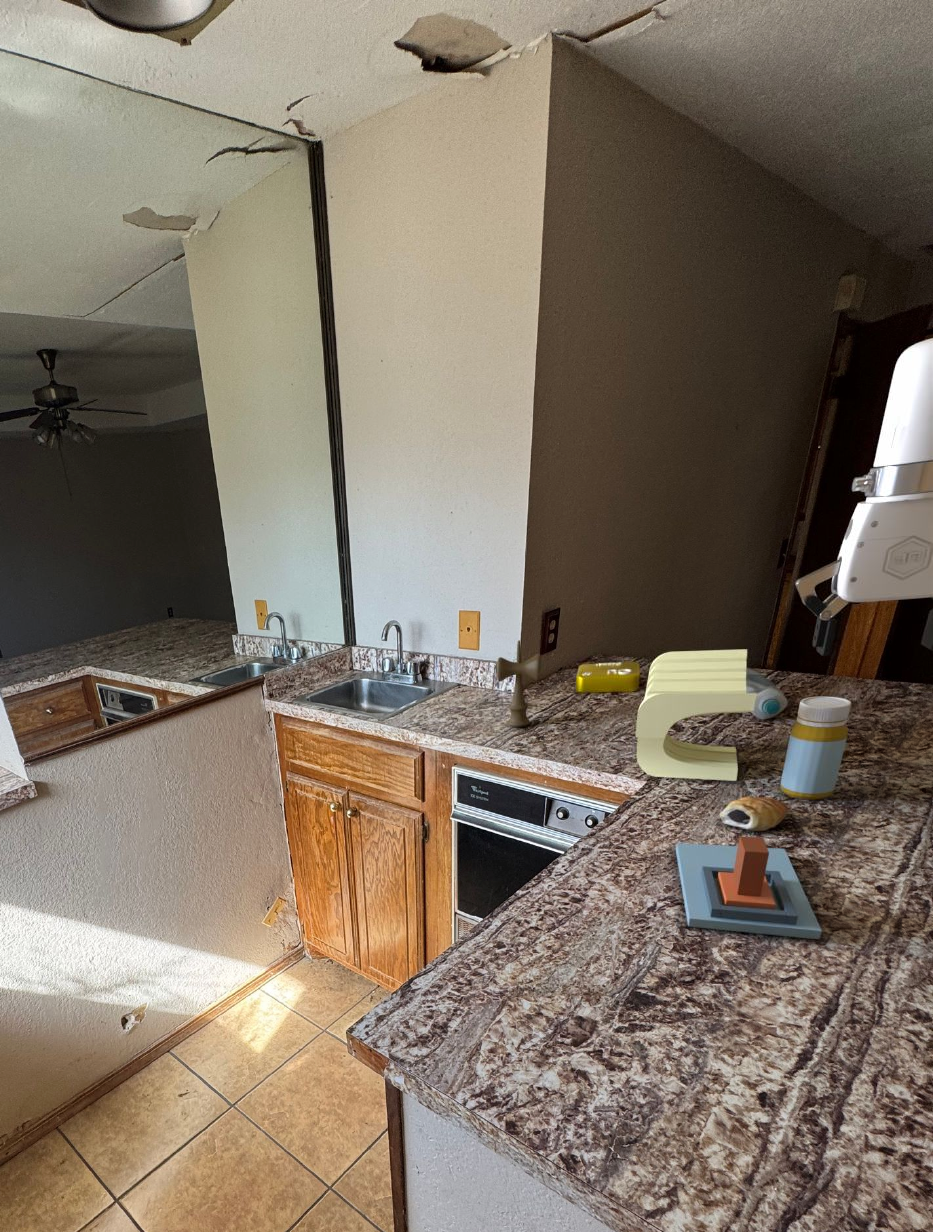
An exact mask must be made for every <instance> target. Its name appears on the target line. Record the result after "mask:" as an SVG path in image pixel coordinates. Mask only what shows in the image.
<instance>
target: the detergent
mask: <svg viewBox="0 0 933 1232" xmlns="http://www.w3.org/2000/svg"><path fill="white" fill-rule="evenodd" d="M746 693H757V694H756V700H755V706H754V711H752V712H750V713H751V715H753V716H755V718H757V719H760V720H762V721H763V720H764V721H765V720H769V719H771V718H773V717H775V716H777V715H778V714H780V713H781V712H783V710H785V709H786V707H787V706H788V704H789V703H788V702H789V701H788V699H787V697H786V696H785V692H784V691H783V690H782V689H780V688H779V687H778V686H776V684H775V683H773V682H772V681H771V680H769V679H768V678H766V676H764V675H763V674H762V673H761V672H759V671H757V670H755V669H753V668H751V667H747V666H746Z"/></svg>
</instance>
